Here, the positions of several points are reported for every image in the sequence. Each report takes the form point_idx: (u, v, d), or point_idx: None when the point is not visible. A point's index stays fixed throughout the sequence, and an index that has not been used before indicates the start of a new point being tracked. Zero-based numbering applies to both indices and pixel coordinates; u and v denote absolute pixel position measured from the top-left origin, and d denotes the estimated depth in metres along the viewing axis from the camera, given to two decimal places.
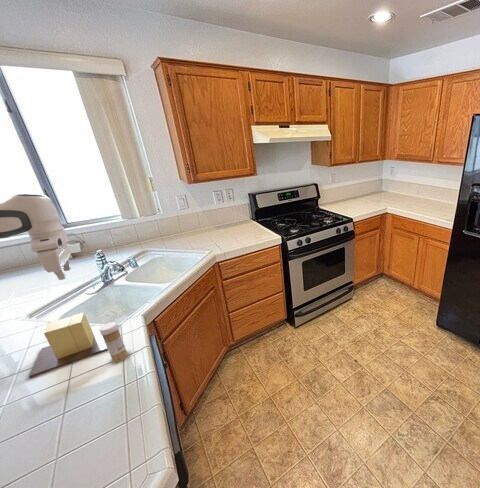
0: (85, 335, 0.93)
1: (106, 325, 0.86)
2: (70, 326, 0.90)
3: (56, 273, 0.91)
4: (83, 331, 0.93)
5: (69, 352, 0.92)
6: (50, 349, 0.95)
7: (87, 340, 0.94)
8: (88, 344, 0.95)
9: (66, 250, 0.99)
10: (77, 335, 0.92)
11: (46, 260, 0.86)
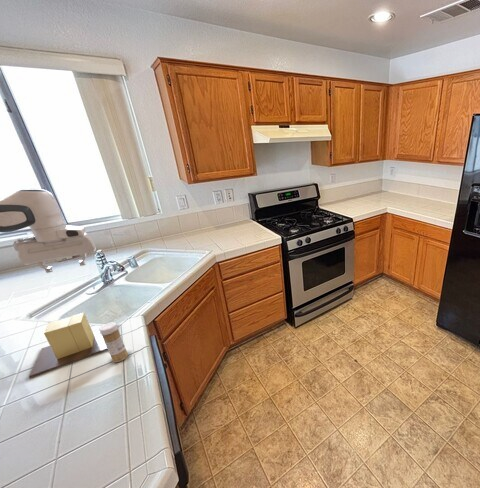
0: (85, 335, 0.93)
1: (106, 325, 0.86)
2: (70, 326, 0.90)
3: (85, 257, 1.01)
4: (83, 331, 0.93)
5: (69, 352, 0.92)
6: (50, 349, 0.95)
7: (87, 340, 0.94)
8: (88, 344, 0.95)
9: None
10: (77, 335, 0.92)
11: (91, 240, 1.00)
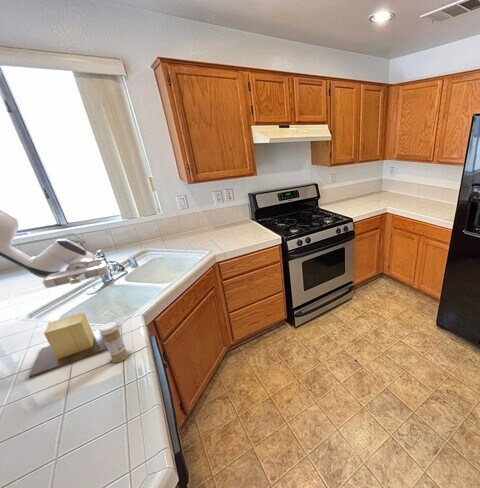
0: (85, 335, 0.93)
1: (106, 325, 0.86)
2: (70, 326, 0.90)
3: (83, 276, 1.06)
4: (83, 331, 0.93)
5: (69, 352, 0.92)
6: (50, 349, 0.95)
7: (87, 340, 0.94)
8: (88, 344, 0.95)
9: None
10: (77, 335, 0.92)
11: None
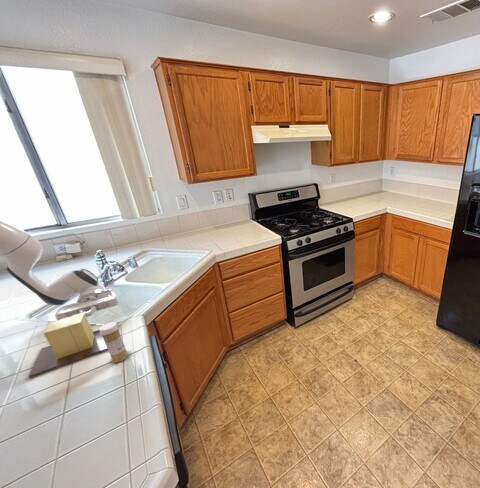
0: (85, 335, 0.93)
1: (106, 325, 0.86)
2: (70, 326, 0.90)
3: (94, 308, 1.09)
4: (83, 331, 0.93)
5: (69, 352, 0.92)
6: (50, 349, 0.95)
7: (87, 340, 0.94)
8: (88, 344, 0.95)
9: None
10: (77, 335, 0.92)
11: (116, 296, 1.18)
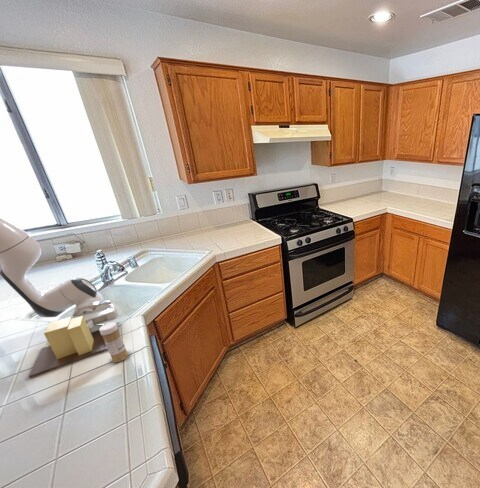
0: (84, 339, 0.91)
1: (106, 325, 0.86)
2: (69, 330, 0.88)
3: (91, 323, 1.00)
4: (82, 335, 0.91)
5: (69, 352, 0.92)
6: (50, 349, 0.95)
7: (86, 344, 0.92)
8: (87, 348, 0.93)
9: None
10: (76, 339, 0.90)
11: None
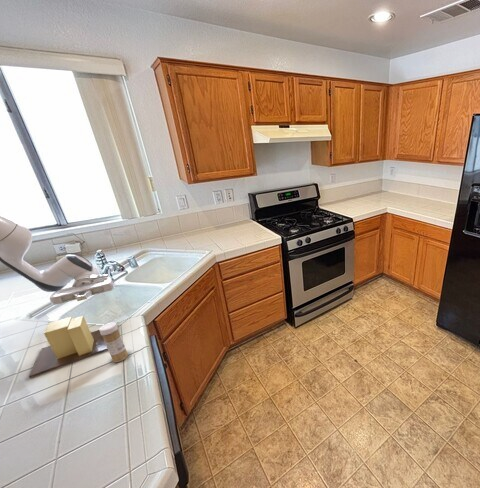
0: (84, 339, 0.91)
1: (106, 325, 0.86)
2: (69, 330, 0.88)
3: (89, 292, 1.09)
4: (82, 335, 0.91)
5: (69, 352, 0.92)
6: (50, 349, 0.95)
7: (86, 344, 0.92)
8: (87, 348, 0.92)
9: None
10: (77, 340, 0.90)
11: None
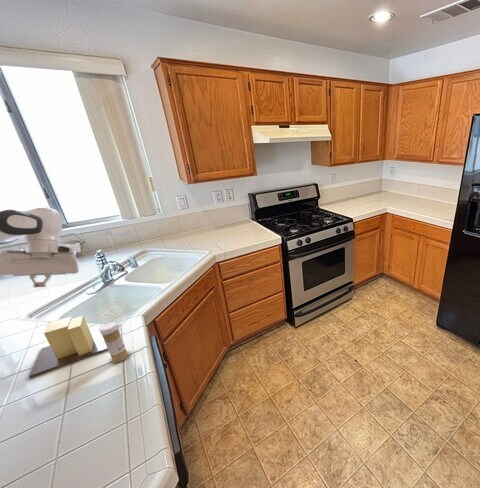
0: (84, 339, 0.91)
1: (106, 325, 0.86)
2: (69, 330, 0.88)
3: (48, 278, 0.96)
4: (82, 335, 0.91)
5: (69, 352, 0.92)
6: (50, 349, 0.95)
7: (86, 344, 0.92)
8: (87, 348, 0.92)
9: None
10: (77, 340, 0.90)
11: (78, 262, 1.02)
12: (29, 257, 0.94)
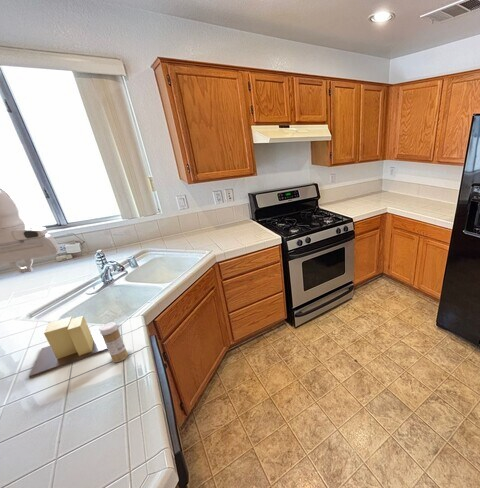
0: (84, 339, 0.91)
1: (106, 325, 0.86)
2: (69, 330, 0.88)
3: (31, 263, 0.91)
4: (82, 335, 0.91)
5: (69, 352, 0.92)
6: (50, 349, 0.95)
7: (86, 344, 0.92)
8: (87, 348, 0.92)
9: None
10: (77, 340, 0.90)
11: (53, 242, 0.93)
12: None
